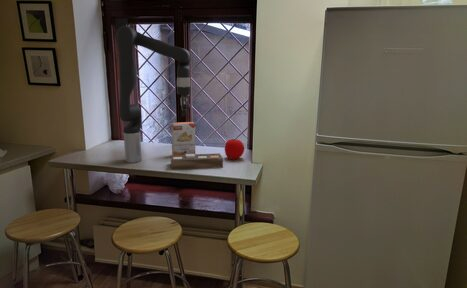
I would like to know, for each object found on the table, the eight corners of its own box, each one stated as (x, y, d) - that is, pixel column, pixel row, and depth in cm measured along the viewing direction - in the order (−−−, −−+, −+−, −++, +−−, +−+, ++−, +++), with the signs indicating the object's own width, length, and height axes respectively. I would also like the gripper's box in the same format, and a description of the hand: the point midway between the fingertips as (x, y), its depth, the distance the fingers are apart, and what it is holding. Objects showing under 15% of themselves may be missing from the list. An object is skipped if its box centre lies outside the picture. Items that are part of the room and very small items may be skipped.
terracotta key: (209, 160, 193) (209, 155, 193) (218, 160, 194) (218, 155, 194) (211, 163, 189) (211, 157, 188) (219, 162, 190) (219, 157, 189)
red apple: (220, 159, 203) (220, 139, 200) (230, 155, 212) (230, 135, 209) (238, 162, 196) (238, 141, 194) (247, 158, 206) (247, 138, 203)
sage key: (197, 161, 192) (197, 156, 191) (206, 160, 193) (206, 155, 192) (198, 163, 187) (198, 158, 187) (207, 163, 188) (207, 158, 187)
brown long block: (170, 163, 192) (170, 154, 191) (219, 161, 198) (219, 153, 197) (171, 169, 182) (171, 160, 181) (222, 166, 187) (222, 158, 186)
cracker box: (173, 157, 205) (173, 124, 200) (171, 155, 210) (170, 122, 205) (195, 155, 210) (195, 122, 205) (193, 153, 215) (192, 121, 211)
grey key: (185, 159, 190) (185, 154, 190) (194, 158, 191) (194, 153, 191) (186, 161, 186) (186, 156, 185) (195, 161, 186) (195, 155, 186)
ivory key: (173, 162, 189) (173, 157, 189) (182, 161, 190) (182, 156, 190) (173, 164, 185) (173, 159, 184) (182, 164, 185) (182, 159, 185)
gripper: (176, 85, 192) (177, 114, 196) (177, 86, 180) (178, 118, 184) (189, 85, 194) (190, 114, 198) (191, 86, 181) (191, 118, 185)
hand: (184, 116), depth 191 cm, fingers closed
